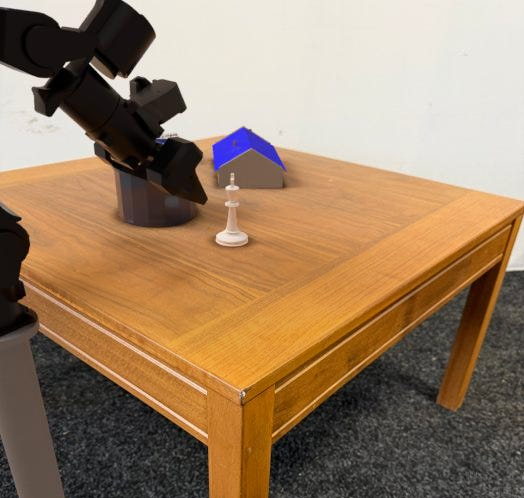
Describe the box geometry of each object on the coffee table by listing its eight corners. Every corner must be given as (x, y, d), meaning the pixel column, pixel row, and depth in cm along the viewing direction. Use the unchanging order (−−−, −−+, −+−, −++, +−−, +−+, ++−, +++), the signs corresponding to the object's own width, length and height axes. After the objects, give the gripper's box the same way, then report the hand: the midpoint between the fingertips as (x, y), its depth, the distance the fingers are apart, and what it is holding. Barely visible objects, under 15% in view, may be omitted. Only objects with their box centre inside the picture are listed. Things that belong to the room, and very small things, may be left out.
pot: (157, 233, 85) (154, 181, 81) (103, 214, 91) (97, 165, 87) (211, 213, 94) (210, 165, 89) (158, 197, 100) (155, 152, 95)
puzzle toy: (180, 159, 124) (179, 132, 121) (181, 164, 120) (180, 137, 117) (155, 159, 123) (153, 132, 120) (155, 165, 119) (153, 137, 116)
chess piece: (249, 235, 85) (250, 170, 80) (246, 247, 81) (248, 179, 76) (217, 234, 85) (217, 168, 80) (213, 245, 81) (213, 177, 76)
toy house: (212, 159, 125) (211, 125, 121) (273, 160, 126) (274, 126, 122) (215, 187, 106) (214, 148, 102) (286, 188, 108) (288, 149, 104)
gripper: (185, 62, 57) (263, 159, 69) (105, 47, 69) (183, 132, 81) (123, 150, 57) (212, 231, 69) (54, 119, 69) (140, 194, 81)
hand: (186, 193), depth 75 cm, fingers open, 9 cm apart
